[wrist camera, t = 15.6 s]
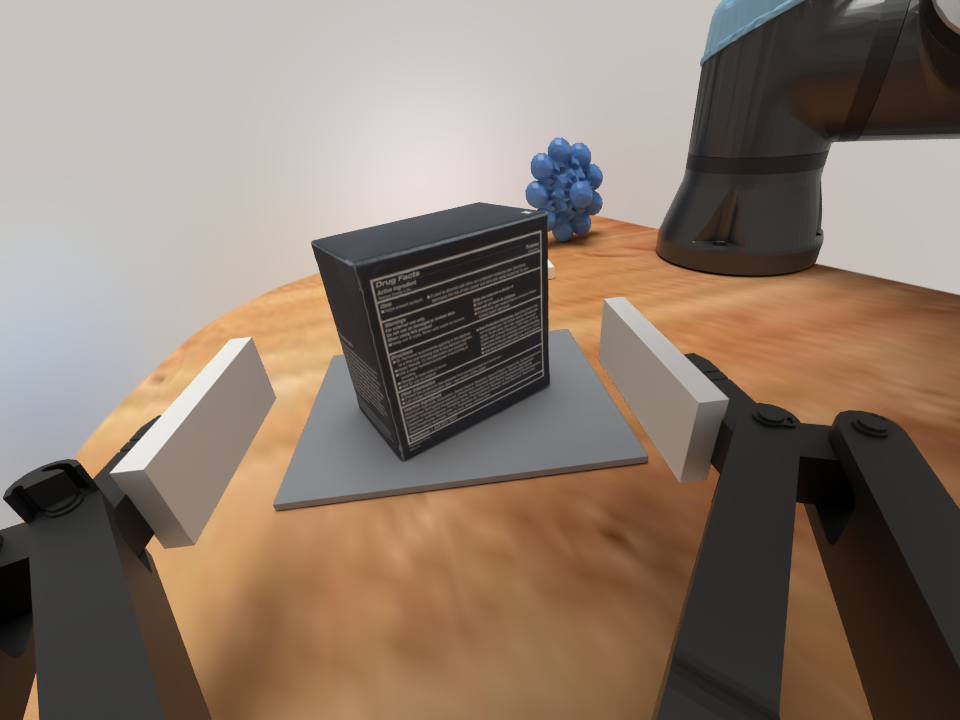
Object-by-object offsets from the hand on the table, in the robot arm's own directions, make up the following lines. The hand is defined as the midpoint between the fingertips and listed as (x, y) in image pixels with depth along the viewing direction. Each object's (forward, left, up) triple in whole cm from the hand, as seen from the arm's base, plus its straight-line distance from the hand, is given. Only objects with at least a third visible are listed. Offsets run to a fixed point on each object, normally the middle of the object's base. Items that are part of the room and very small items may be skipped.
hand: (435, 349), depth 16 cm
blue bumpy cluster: (-16, -38, -8) cm, 42 cm away
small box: (0, -7, -8) cm, 10 cm away
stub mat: (0, -7, -8) cm, 11 cm away
